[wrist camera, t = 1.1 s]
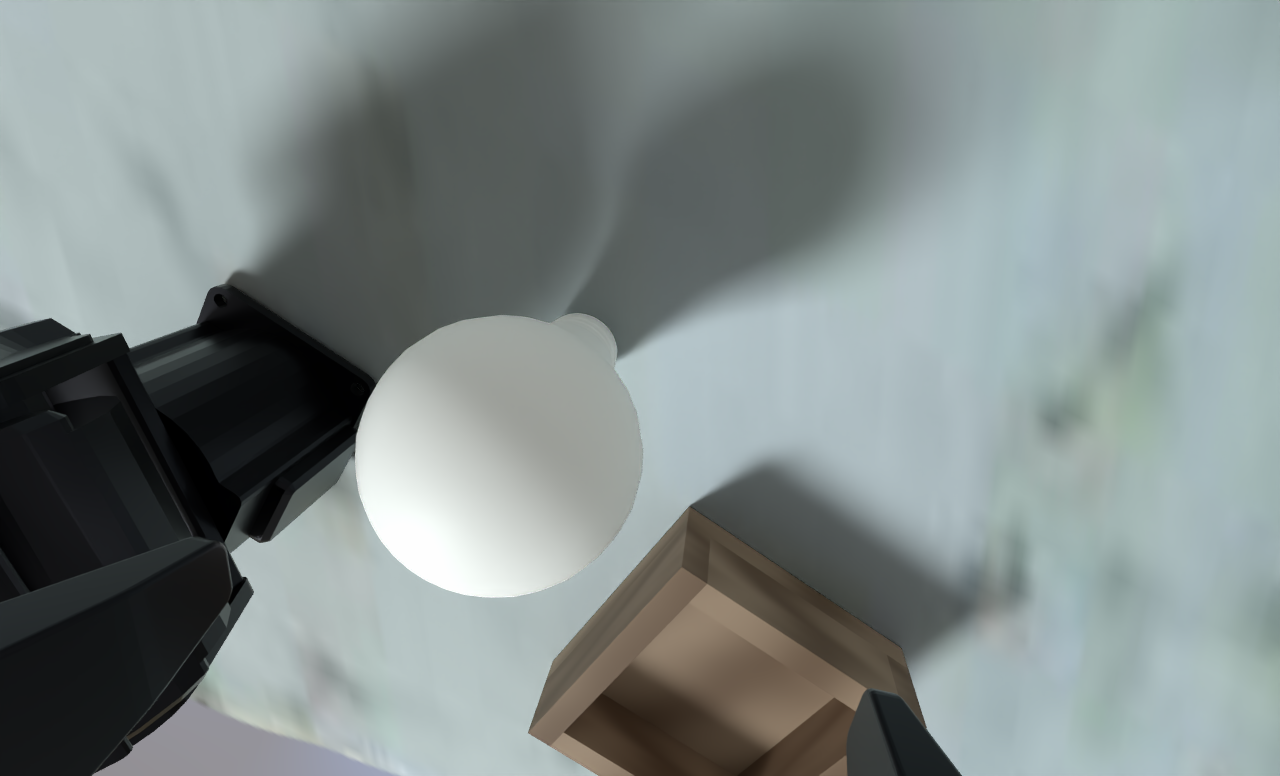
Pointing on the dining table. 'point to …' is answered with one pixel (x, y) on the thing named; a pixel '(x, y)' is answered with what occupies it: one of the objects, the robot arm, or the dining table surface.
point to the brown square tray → (714, 669)
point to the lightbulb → (500, 453)
